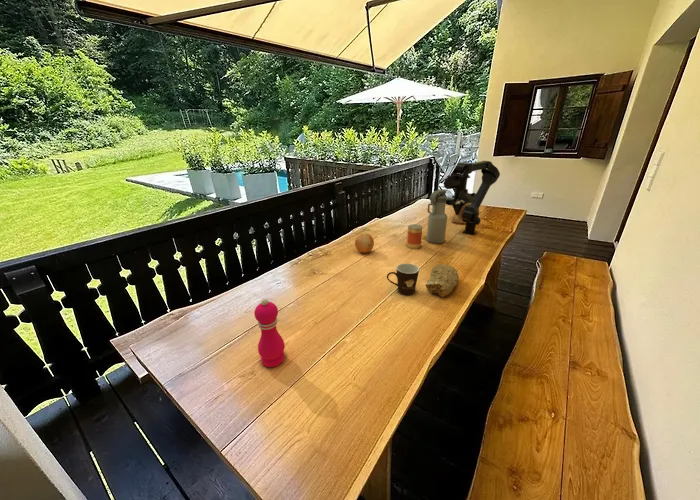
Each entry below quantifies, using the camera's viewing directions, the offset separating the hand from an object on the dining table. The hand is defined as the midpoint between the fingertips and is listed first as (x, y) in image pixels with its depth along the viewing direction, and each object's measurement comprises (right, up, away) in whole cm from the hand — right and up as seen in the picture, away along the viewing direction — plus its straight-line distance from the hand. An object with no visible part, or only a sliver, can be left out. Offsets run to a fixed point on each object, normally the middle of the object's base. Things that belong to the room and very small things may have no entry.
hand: (457, 214), depth 168 cm
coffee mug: (-39, -36, -49) cm, 72 cm away
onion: (-53, -21, -13) cm, 58 cm away
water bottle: (-12, -15, 0) cm, 19 cm away
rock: (-23, -34, -46) cm, 61 cm away
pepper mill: (-82, -51, -83) cm, 127 cm away
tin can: (-26, -18, -7) cm, 32 cm away
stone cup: (+14, -1, +31) cm, 34 cm away
